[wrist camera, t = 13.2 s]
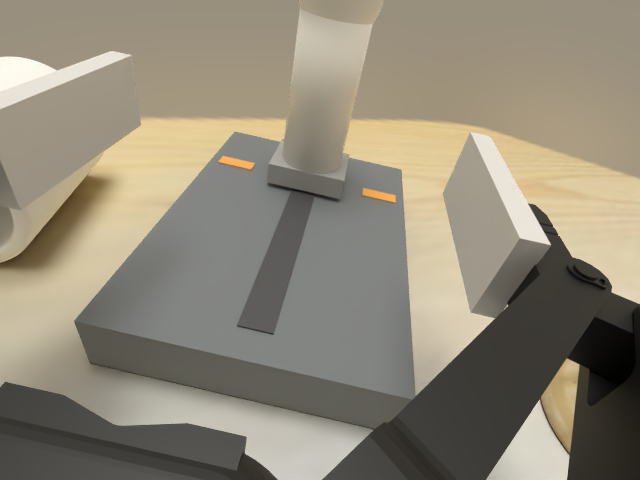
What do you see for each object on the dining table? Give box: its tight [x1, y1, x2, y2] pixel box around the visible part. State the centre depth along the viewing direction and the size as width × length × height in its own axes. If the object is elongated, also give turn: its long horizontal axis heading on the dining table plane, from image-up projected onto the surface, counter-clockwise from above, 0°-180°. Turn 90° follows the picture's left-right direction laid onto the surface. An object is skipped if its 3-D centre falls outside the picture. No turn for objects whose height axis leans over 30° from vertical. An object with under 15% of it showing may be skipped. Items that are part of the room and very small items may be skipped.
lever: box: [267, 0, 384, 199], centre depth 22 cm, size 5×5×14 cm
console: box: [74, 132, 415, 429], centre depth 24 cm, size 14×20×3 cm
